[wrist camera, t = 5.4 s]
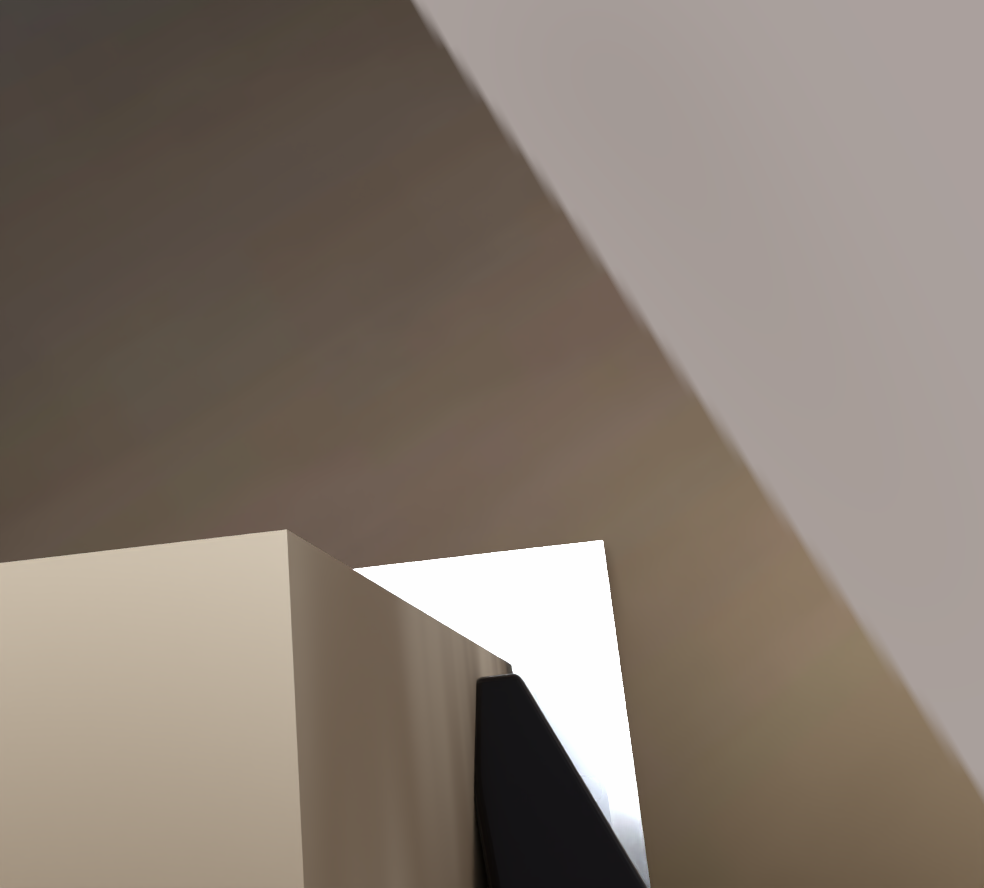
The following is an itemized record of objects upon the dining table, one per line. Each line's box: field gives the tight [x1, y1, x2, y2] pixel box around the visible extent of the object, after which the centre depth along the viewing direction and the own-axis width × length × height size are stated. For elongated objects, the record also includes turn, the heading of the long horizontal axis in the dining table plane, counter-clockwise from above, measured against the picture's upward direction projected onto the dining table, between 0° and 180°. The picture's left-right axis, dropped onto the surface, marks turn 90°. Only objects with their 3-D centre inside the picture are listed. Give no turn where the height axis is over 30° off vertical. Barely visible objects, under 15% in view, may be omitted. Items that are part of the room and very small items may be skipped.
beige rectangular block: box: [0, 530, 513, 888], centre depth 8 cm, size 4×2×13 cm, turn 6°
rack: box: [353, 540, 651, 888], centre depth 15 cm, size 8×6×4 cm
